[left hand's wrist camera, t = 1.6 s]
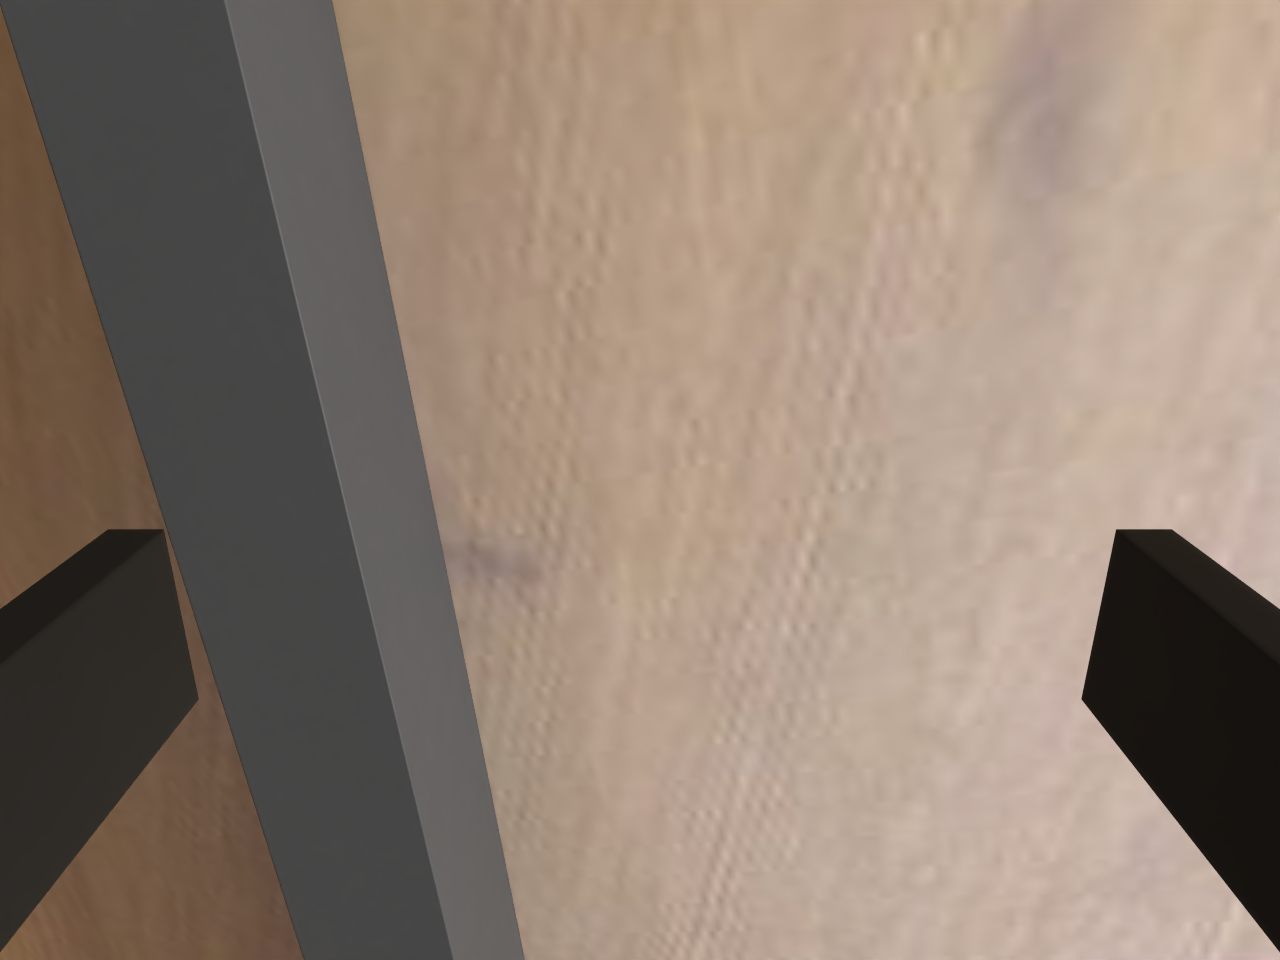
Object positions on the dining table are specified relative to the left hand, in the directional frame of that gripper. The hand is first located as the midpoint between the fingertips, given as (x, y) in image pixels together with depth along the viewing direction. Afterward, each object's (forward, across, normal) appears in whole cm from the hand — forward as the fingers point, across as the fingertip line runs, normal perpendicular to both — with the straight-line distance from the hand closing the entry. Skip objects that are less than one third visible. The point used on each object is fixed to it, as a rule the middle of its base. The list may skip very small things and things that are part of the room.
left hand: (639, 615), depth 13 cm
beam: (+18, -9, -16) cm, 26 cm away
